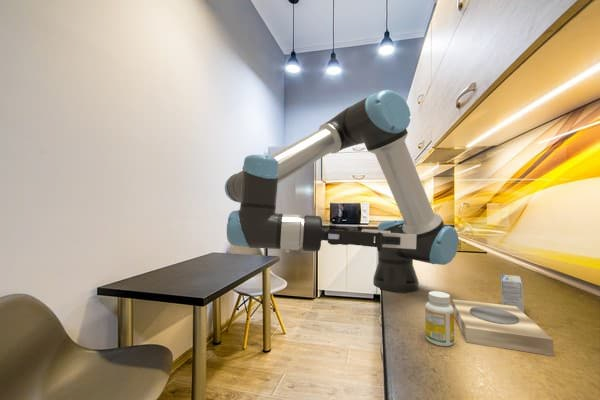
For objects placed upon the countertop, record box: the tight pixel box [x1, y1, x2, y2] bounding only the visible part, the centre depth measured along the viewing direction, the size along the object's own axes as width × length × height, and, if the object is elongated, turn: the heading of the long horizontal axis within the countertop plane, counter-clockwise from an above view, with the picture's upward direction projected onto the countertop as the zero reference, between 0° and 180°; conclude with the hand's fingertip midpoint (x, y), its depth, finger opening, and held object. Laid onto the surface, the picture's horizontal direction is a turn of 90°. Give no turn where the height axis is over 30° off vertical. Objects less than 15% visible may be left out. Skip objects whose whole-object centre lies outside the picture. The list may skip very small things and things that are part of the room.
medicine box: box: [500, 274, 525, 314], centre depth 72 cm, size 8×4×9 cm, turn 143°
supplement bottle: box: [424, 290, 455, 347], centre depth 56 cm, size 5×5×10 cm
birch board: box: [451, 299, 555, 357], centre depth 61 cm, size 18×14×3 cm
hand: (401, 238), depth 57 cm, fingers open, 13 cm apart
